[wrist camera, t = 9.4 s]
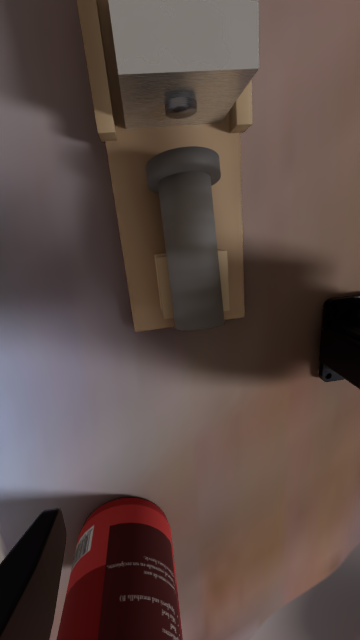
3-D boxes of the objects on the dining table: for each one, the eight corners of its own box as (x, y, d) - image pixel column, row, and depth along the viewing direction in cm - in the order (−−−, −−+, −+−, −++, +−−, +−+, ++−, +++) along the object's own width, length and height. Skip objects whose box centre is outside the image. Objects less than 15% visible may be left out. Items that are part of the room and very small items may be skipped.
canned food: (89, 571, 24) (50, 825, 14) (69, 504, 22) (4, 751, 11) (174, 552, 25) (199, 779, 15) (165, 485, 23) (186, 700, 12)
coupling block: (220, 129, 15) (259, 78, 10) (126, 136, 14) (120, 85, 9) (214, -8, 13) (257, -150, 8) (107, -7, 12) (86, -156, 8)
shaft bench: (224, -344, 11) (300, -867, 6) (242, 312, 19) (279, 340, 14) (22, -369, 10) (-101, -1000, 5) (132, 327, 18) (129, 363, 13)
